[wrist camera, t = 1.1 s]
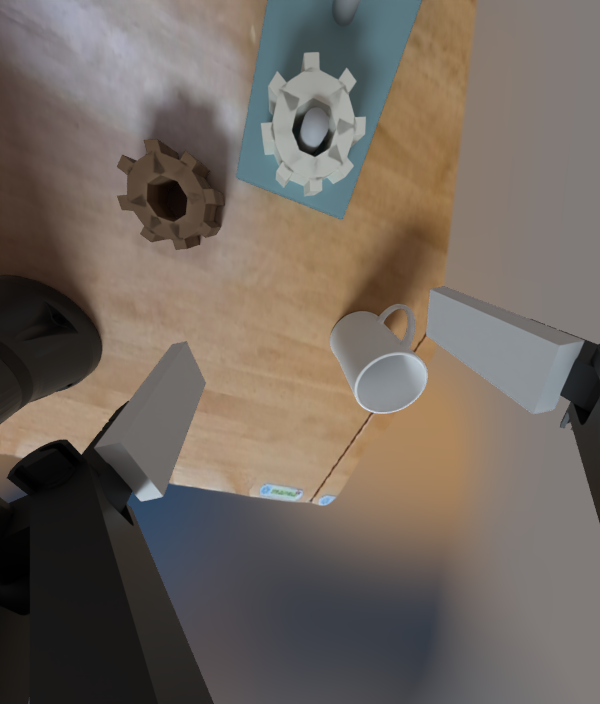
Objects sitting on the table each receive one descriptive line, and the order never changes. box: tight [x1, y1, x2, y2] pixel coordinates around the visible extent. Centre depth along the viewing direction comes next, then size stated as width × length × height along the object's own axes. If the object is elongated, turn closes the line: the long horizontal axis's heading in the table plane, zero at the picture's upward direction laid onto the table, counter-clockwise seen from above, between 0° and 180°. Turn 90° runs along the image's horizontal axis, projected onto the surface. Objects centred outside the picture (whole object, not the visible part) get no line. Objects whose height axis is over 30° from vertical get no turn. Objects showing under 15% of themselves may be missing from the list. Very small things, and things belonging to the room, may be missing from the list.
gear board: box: [236, 0, 422, 219], centre depth 20 cm, size 12×19×8 cm, turn 162°
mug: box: [330, 304, 428, 413], centre depth 31 cm, size 12×8×12 cm
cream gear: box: [261, 52, 366, 196], centre depth 22 cm, size 8×8×5 cm
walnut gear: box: [117, 139, 225, 250], centre depth 25 cm, size 8×8×5 cm
